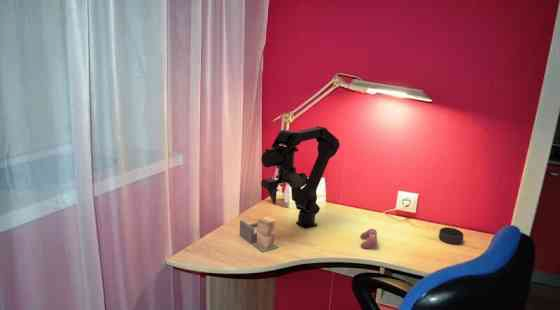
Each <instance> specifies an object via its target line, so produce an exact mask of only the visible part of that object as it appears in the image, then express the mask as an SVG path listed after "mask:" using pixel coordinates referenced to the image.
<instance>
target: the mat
mask: <svg viewBox="0 0 560 310" xmlns="http://www.w3.org/2000/svg"><path fill="white" fill-rule="evenodd" d="M251 245H252V246H253V247H254V248H256V249H257V250H258V251H259V252H261V253H265V252H268V251H272V250H276V249H279V246H278V245H276V243H274V245H273V246H271V247H269V248H267V249H264V248H262V247H260V246H257V242H256V243H252V244H251Z"/></svg>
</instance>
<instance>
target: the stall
mask: <svg viewBox="0 0 560 310" xmlns="http://www.w3.org/2000/svg"><path fill="white" fill-rule="evenodd" d="M257 224H258V221H257V222H253V223H248V222H246V221H244V219H243V220H242V219H240V220H239V235H240V236H241V237H242V238H243V239H244V240H246V241H247V242H248V243H250V244H251V245H252V243H256V242H257Z"/></svg>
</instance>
